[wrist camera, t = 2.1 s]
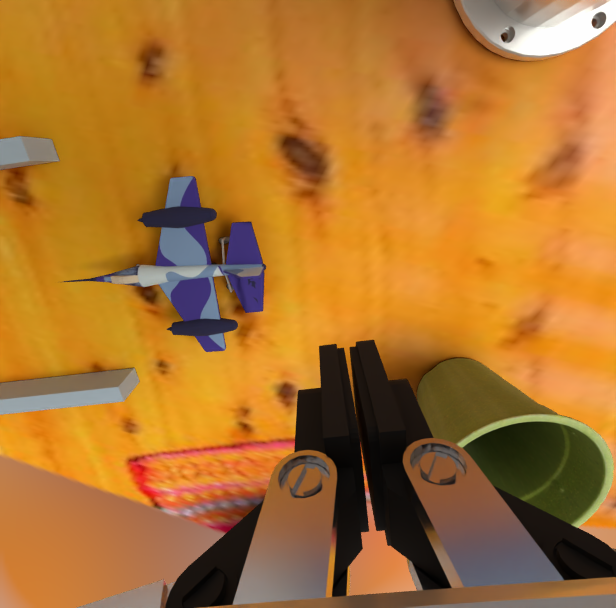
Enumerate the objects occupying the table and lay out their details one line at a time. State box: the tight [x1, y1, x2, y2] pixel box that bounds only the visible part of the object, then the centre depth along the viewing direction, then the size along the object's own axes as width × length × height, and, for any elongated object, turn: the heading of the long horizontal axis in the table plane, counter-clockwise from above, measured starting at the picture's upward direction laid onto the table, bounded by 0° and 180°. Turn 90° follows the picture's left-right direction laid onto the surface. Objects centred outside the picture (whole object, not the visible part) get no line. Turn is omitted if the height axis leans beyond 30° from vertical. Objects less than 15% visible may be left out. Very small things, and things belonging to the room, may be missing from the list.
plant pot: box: [417, 358, 614, 528], centre depth 28 cm, size 12×12×11 cm
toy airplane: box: [64, 176, 266, 352], centre depth 28 cm, size 13×14×4 cm
